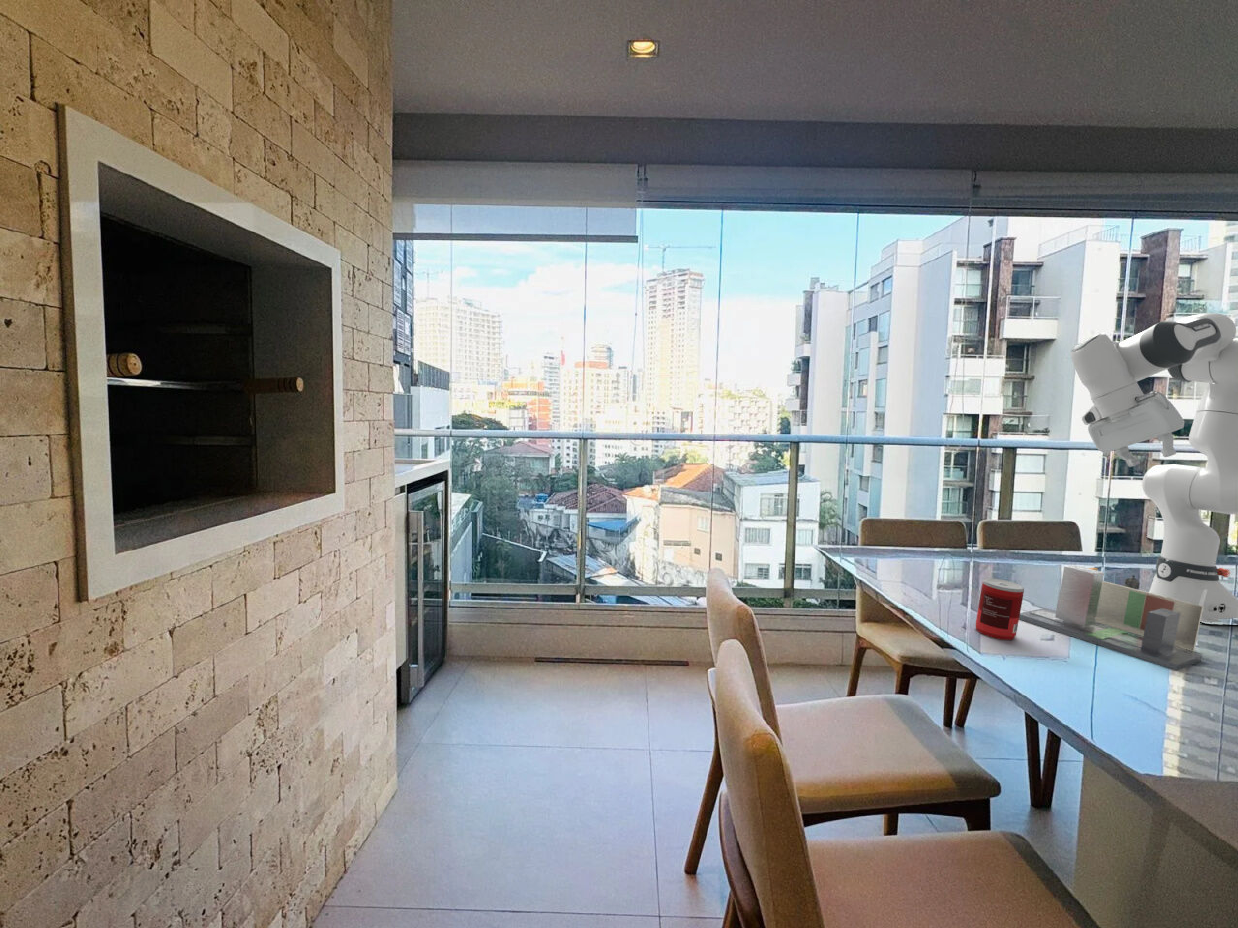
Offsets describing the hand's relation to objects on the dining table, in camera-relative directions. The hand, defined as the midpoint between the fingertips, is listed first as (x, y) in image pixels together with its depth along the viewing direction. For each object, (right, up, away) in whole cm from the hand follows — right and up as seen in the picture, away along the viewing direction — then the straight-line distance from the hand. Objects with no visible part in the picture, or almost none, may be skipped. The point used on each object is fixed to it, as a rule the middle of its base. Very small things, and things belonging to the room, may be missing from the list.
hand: (1152, 460), depth 144 cm
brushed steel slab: (-11, -36, +7) cm, 39 cm away
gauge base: (-7, -39, +3) cm, 40 cm away
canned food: (-36, -37, -4) cm, 52 cm away
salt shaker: (+6, -39, +16) cm, 43 cm away
